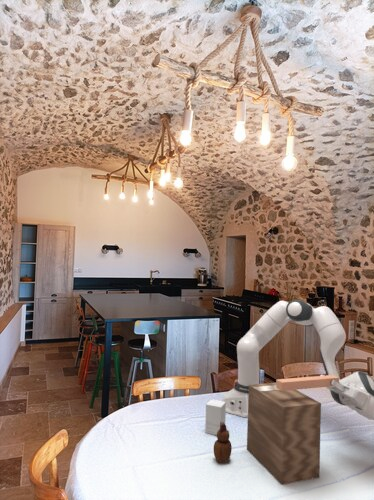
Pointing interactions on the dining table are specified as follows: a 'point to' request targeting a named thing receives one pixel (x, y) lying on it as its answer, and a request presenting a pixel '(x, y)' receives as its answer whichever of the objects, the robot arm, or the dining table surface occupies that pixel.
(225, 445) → the wooden figurine
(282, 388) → the terracotta bar
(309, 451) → the walnut pedestal
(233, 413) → the robot arm
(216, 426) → the supplement box
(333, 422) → the dining table surface
